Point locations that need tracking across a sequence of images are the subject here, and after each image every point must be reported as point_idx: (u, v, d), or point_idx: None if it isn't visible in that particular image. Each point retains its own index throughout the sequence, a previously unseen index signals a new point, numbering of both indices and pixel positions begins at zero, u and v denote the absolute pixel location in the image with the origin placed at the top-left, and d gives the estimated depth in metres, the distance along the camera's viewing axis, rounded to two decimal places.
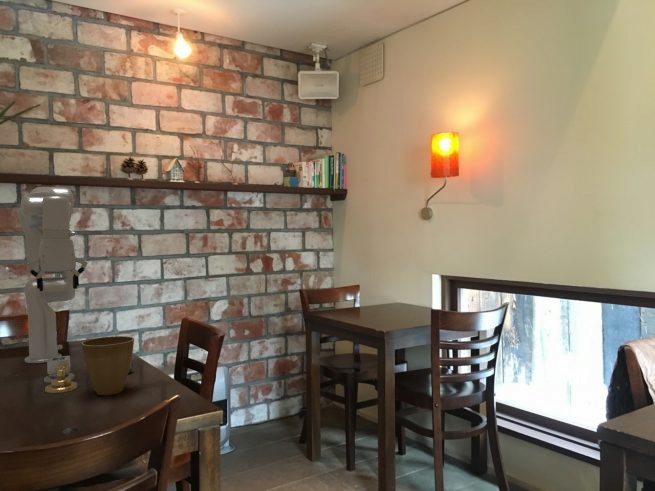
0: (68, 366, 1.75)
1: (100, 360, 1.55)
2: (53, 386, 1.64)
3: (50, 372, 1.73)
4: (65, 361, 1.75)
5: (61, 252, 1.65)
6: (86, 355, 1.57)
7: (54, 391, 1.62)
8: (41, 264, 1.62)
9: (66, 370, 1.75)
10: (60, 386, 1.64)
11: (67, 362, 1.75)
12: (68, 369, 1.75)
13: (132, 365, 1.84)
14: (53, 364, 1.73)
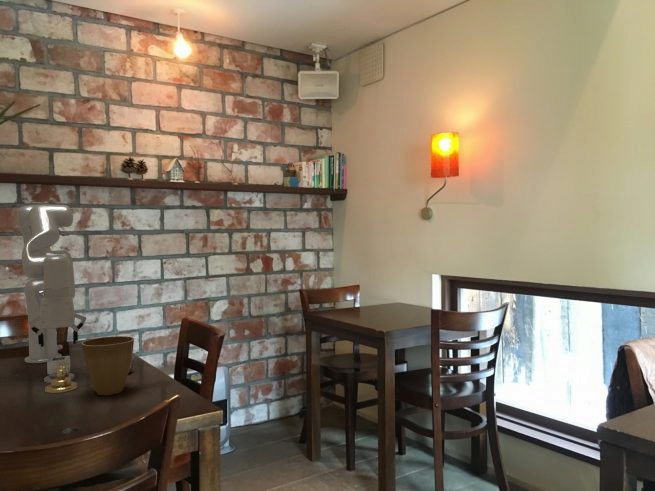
0: (68, 366, 1.75)
1: (100, 360, 1.55)
2: (53, 386, 1.64)
3: (50, 372, 1.73)
4: (65, 361, 1.75)
5: None
6: (86, 355, 1.57)
7: (54, 391, 1.62)
8: None
9: (66, 370, 1.75)
10: (60, 386, 1.64)
11: (67, 362, 1.75)
12: (68, 369, 1.75)
13: (132, 365, 1.84)
14: (53, 364, 1.73)
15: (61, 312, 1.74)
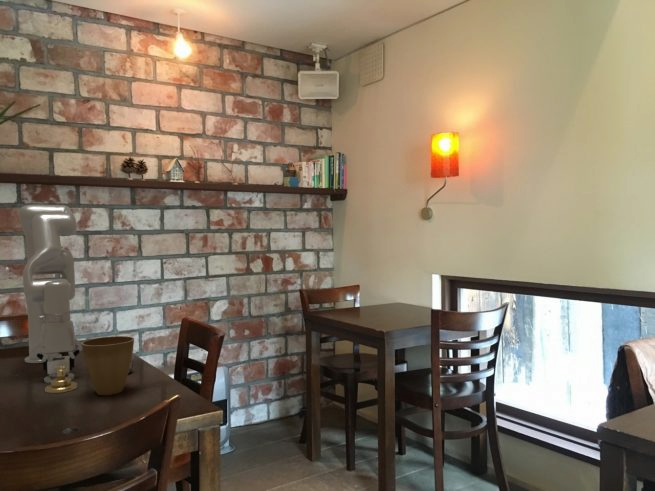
0: (68, 366, 1.75)
1: (100, 360, 1.55)
2: (53, 386, 1.64)
3: (50, 372, 1.73)
4: (65, 361, 1.75)
5: None
6: (86, 355, 1.57)
7: (54, 391, 1.62)
8: None
9: (66, 370, 1.75)
10: (60, 386, 1.64)
11: (67, 362, 1.75)
12: (68, 369, 1.75)
13: (132, 365, 1.84)
14: (53, 364, 1.73)
15: (62, 337, 1.74)
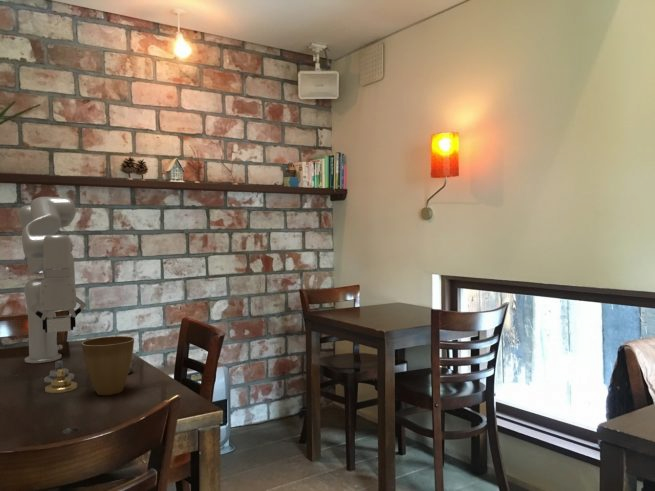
0: (69, 325, 1.65)
1: (100, 360, 1.55)
2: (53, 386, 1.64)
3: (50, 330, 1.63)
4: (66, 319, 1.65)
5: None
6: (86, 355, 1.57)
7: (54, 391, 1.62)
8: None
9: (67, 329, 1.65)
10: (60, 386, 1.64)
11: (68, 320, 1.65)
12: (69, 328, 1.65)
13: (132, 365, 1.84)
14: (53, 322, 1.63)
15: (63, 294, 1.65)
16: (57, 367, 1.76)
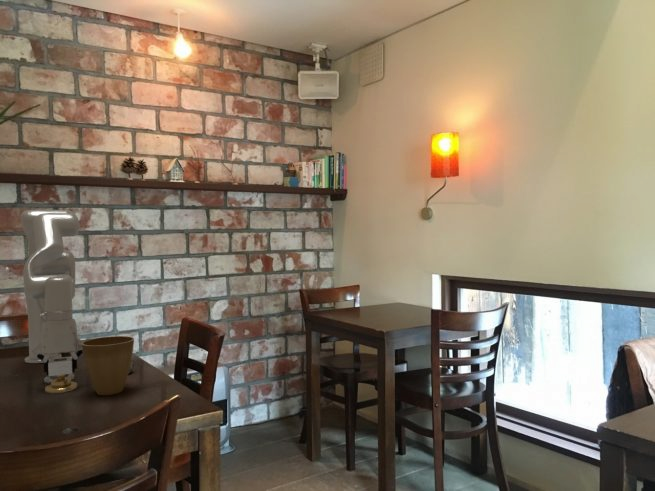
0: (70, 367, 1.64)
1: (100, 360, 1.55)
2: (53, 386, 1.64)
3: (51, 374, 1.62)
4: (67, 362, 1.64)
5: None
6: (86, 355, 1.57)
7: (54, 391, 1.62)
8: None
9: (68, 372, 1.64)
10: (60, 386, 1.64)
11: (69, 363, 1.64)
12: (70, 370, 1.64)
13: (133, 365, 1.84)
14: (54, 365, 1.62)
15: (64, 336, 1.64)
16: None
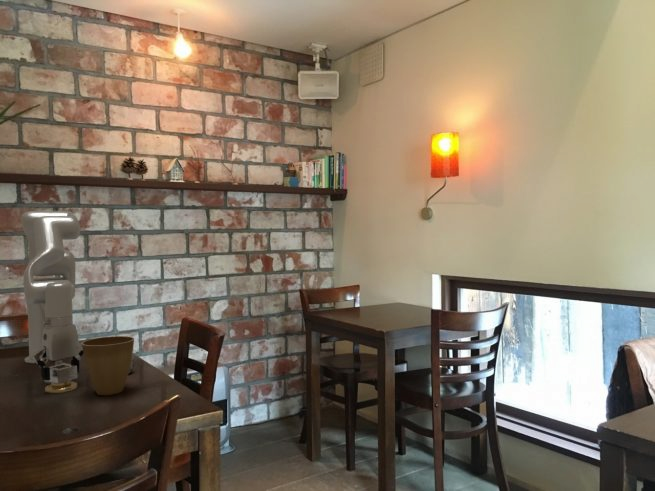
0: (76, 372, 1.67)
1: (100, 360, 1.55)
2: (53, 386, 1.64)
3: (60, 381, 1.63)
4: (73, 367, 1.66)
5: None
6: (86, 355, 1.57)
7: (54, 391, 1.62)
8: None
9: (74, 377, 1.67)
10: (60, 386, 1.64)
11: (75, 368, 1.67)
12: (76, 375, 1.67)
13: (133, 365, 1.84)
14: (63, 372, 1.63)
15: (69, 341, 1.66)
16: None
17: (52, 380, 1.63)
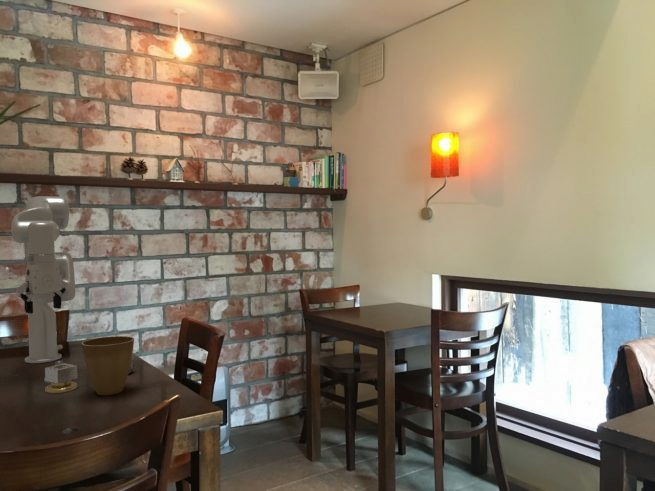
0: (76, 372, 1.67)
1: (100, 360, 1.55)
2: (53, 386, 1.64)
3: (60, 381, 1.63)
4: (73, 367, 1.66)
5: None
6: (86, 355, 1.57)
7: (54, 391, 1.62)
8: None
9: (74, 377, 1.67)
10: (60, 386, 1.64)
11: (75, 368, 1.67)
12: (76, 375, 1.67)
13: (133, 365, 1.84)
14: (63, 372, 1.63)
15: (51, 277, 1.75)
16: None
17: (52, 380, 1.63)
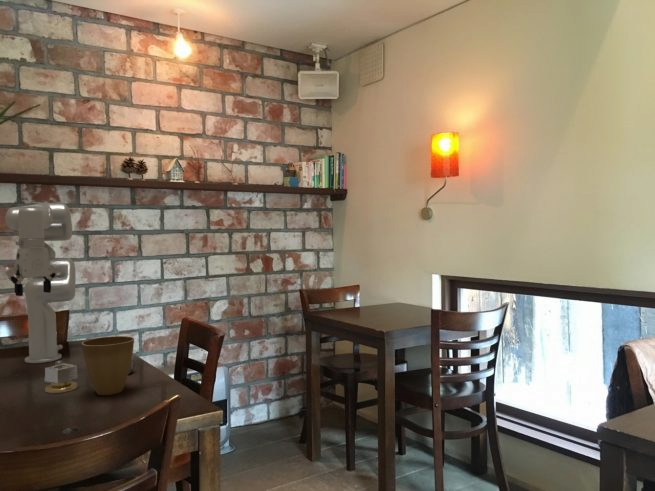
0: (76, 372, 1.67)
1: (100, 360, 1.55)
2: (53, 386, 1.64)
3: (60, 381, 1.63)
4: (73, 367, 1.66)
5: None
6: (86, 355, 1.57)
7: (54, 391, 1.62)
8: None
9: (74, 377, 1.67)
10: (60, 386, 1.64)
11: (75, 368, 1.67)
12: (76, 375, 1.67)
13: (133, 365, 1.84)
14: (63, 372, 1.63)
15: (41, 262, 1.80)
16: None
17: (52, 380, 1.63)
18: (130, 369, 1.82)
